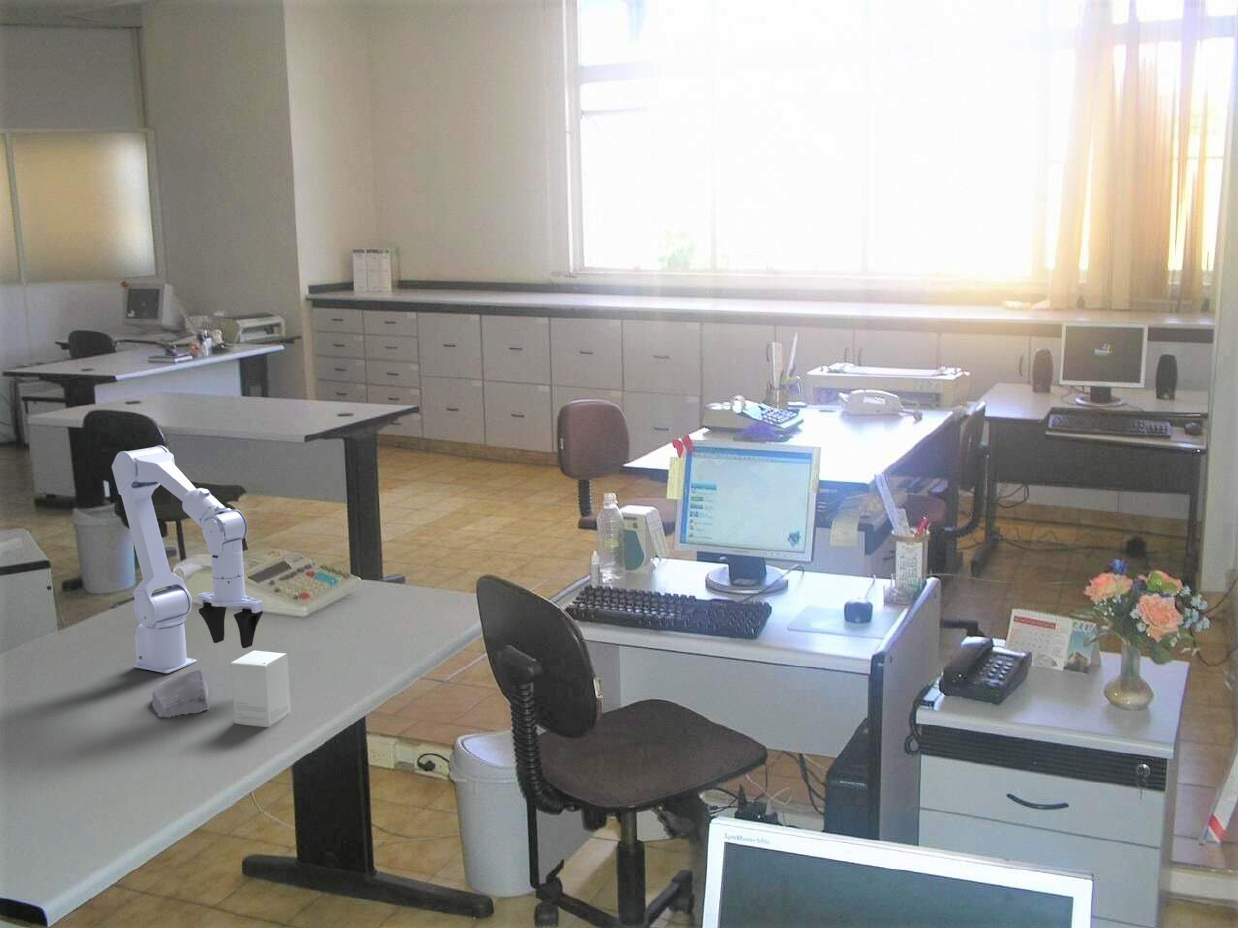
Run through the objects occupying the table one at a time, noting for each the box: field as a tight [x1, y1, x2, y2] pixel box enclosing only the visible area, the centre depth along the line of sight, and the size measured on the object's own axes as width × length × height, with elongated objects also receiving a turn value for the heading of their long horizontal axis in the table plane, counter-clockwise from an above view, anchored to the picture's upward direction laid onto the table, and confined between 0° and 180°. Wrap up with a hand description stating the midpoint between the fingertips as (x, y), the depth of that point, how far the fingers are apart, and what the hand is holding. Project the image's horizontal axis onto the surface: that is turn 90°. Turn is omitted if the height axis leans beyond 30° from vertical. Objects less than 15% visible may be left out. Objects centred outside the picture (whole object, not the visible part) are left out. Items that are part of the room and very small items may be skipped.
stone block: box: [151, 669, 210, 718], centre depth 232 cm, size 12×5×10 cm
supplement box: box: [230, 650, 292, 728], centre depth 225 cm, size 7×7×13 cm
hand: (232, 644), depth 240 cm, fingers open, 7 cm apart
